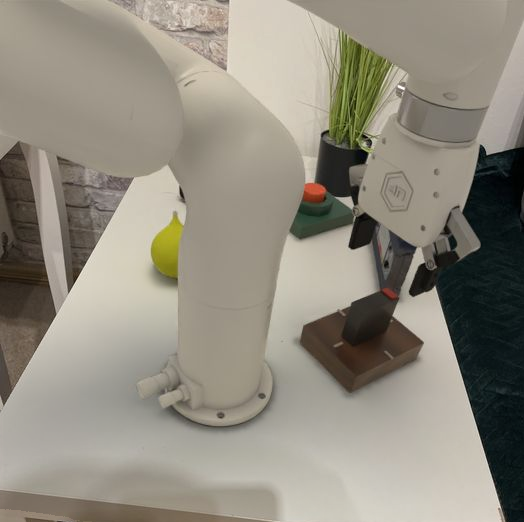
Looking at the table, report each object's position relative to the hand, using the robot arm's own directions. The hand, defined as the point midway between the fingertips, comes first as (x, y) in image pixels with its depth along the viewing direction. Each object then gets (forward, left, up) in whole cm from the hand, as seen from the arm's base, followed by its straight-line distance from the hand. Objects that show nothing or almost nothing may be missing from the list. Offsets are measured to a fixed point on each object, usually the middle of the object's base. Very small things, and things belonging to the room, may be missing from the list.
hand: (387, 268), depth 59 cm
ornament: (-13, +25, -13) cm, 31 cm away
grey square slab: (0, 0, -10) cm, 10 cm away
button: (+15, +29, -9) cm, 34 cm away
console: (0, 0, -13) cm, 13 cm away
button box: (+15, +29, -13) cm, 35 cm away
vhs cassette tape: (+17, +13, -13) cm, 25 cm away
